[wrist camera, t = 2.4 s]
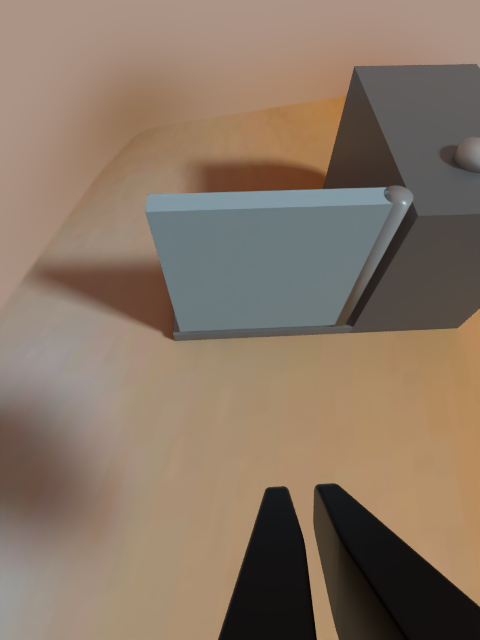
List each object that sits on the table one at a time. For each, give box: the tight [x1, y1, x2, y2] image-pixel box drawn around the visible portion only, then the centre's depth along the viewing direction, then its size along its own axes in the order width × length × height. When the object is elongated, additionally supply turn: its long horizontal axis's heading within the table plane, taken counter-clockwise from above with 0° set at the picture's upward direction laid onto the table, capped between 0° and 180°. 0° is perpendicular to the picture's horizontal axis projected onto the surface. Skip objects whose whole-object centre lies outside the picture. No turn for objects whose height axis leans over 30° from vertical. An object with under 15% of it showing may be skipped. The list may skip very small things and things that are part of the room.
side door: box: [145, 185, 413, 332], centre depth 19 cm, size 1×11×10 cm, turn 93°
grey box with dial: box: [173, 64, 480, 341], centre depth 23 cm, size 14×19×11 cm
